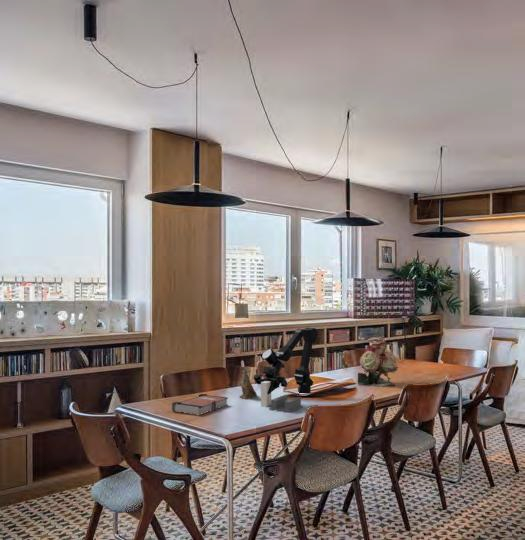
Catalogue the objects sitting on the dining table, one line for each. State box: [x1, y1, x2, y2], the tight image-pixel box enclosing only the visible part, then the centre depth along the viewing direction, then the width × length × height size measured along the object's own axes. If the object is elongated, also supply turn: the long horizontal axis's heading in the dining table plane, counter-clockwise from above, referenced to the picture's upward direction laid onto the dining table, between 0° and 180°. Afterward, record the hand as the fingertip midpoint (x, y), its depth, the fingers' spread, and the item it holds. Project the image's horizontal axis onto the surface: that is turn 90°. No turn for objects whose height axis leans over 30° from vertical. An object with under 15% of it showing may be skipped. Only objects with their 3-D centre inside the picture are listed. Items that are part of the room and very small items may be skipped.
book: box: [171, 393, 229, 415], centre depth 295 cm, size 26×18×5 cm
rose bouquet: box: [357, 336, 399, 387], centre depth 363 cm, size 26×29×30 cm
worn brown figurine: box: [239, 369, 258, 400], centre depth 322 cm, size 12×6×18 cm, turn 142°
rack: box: [268, 395, 303, 413], centre depth 294 cm, size 14×12×5 cm
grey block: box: [260, 381, 272, 407], centre depth 301 cm, size 5×4×12 cm
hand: (264, 393), depth 300 cm, fingers closed on grey block, 3 cm apart
